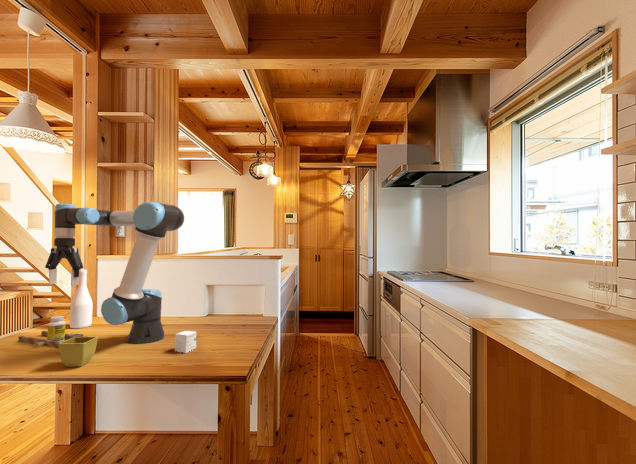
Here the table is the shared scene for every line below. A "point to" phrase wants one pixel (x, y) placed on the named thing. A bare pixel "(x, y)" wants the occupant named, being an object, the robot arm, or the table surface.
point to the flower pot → (77, 350)
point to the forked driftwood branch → (43, 342)
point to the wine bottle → (81, 304)
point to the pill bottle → (56, 329)
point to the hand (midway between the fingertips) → (63, 284)
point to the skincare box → (185, 341)
